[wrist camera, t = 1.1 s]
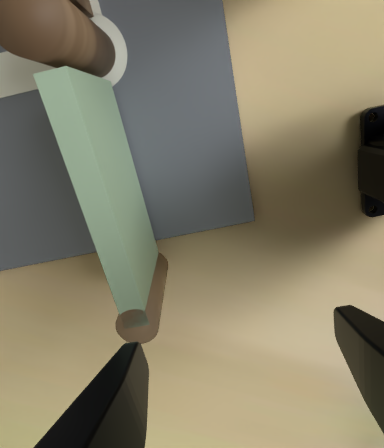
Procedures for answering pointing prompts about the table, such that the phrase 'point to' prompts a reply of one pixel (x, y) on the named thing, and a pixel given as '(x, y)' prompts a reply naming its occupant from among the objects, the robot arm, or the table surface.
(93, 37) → the fixed fence section
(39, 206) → the card
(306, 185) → the table surface
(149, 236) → the hinged fence panel
